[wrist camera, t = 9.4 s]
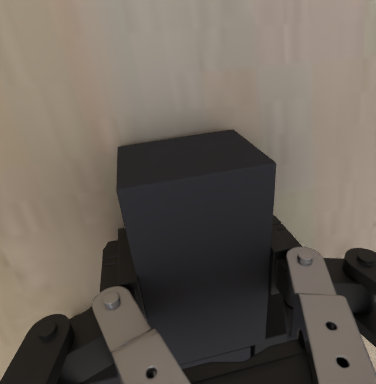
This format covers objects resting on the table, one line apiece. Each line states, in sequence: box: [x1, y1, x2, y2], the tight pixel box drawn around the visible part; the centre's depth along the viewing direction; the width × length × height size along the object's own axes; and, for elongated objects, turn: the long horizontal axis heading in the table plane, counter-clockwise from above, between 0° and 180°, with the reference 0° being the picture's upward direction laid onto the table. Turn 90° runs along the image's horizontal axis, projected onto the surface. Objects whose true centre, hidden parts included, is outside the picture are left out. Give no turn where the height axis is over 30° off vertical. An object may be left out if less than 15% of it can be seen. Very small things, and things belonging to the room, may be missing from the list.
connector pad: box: [117, 130, 276, 369], centre depth 13 cm, size 5×12×4 cm, turn 5°
